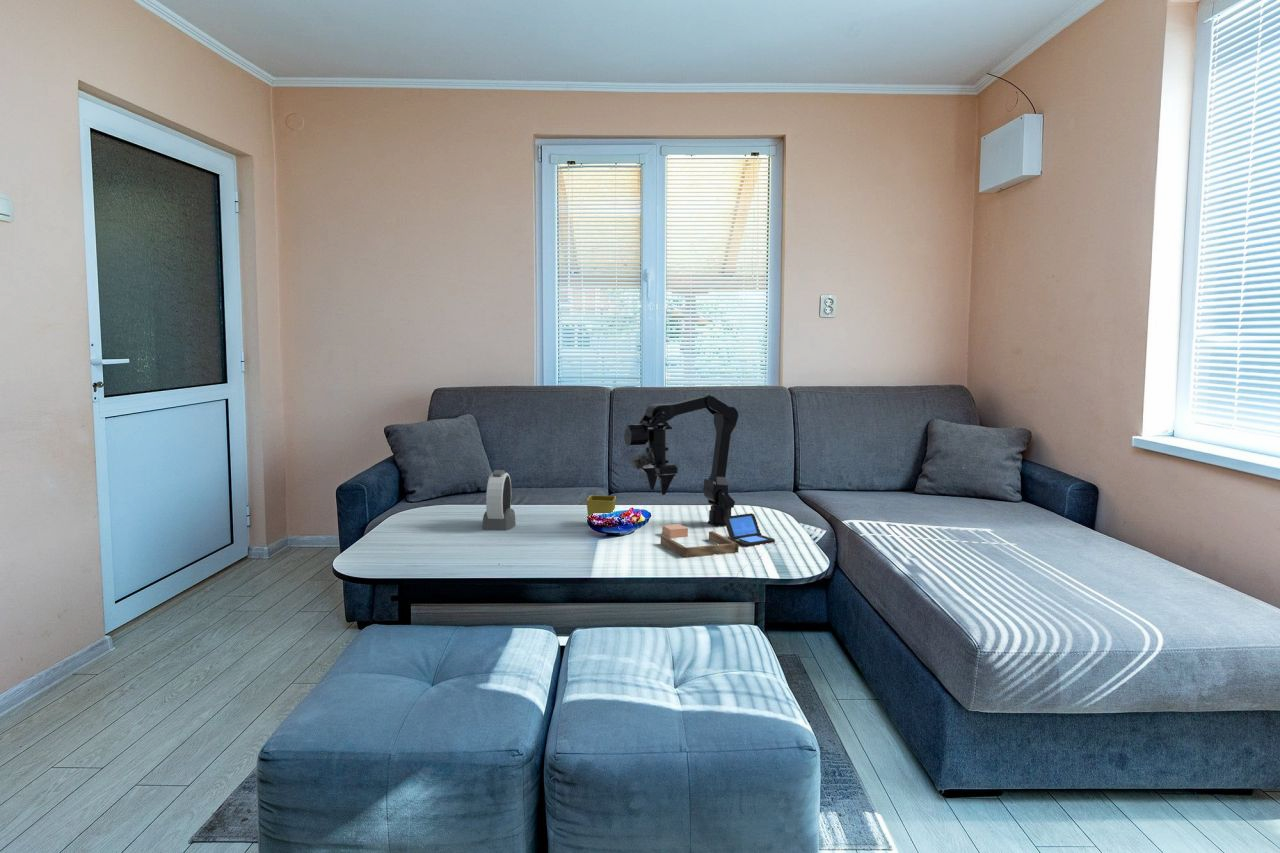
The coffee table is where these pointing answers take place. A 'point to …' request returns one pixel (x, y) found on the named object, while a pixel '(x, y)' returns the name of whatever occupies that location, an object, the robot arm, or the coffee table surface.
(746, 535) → the handheld game console
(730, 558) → the coffee table surface
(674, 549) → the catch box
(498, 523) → the grey ring on stand
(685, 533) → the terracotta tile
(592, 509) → the flower pot
